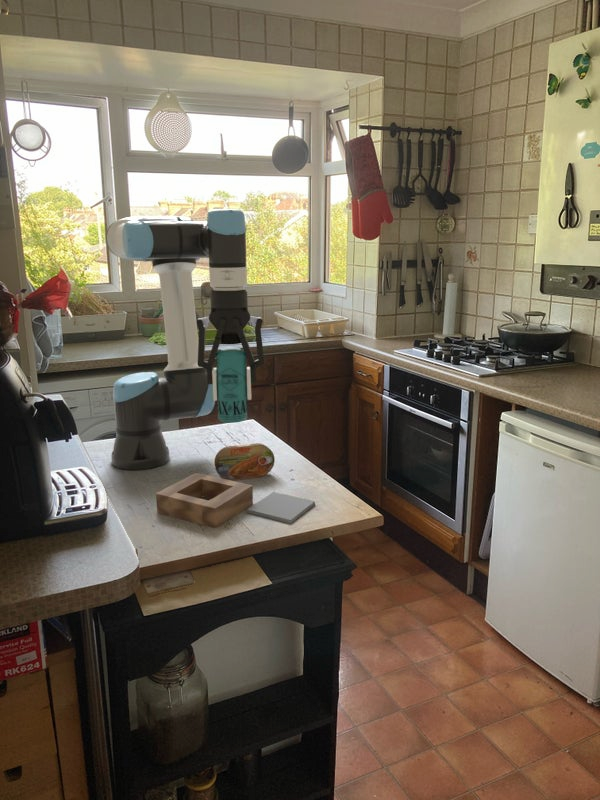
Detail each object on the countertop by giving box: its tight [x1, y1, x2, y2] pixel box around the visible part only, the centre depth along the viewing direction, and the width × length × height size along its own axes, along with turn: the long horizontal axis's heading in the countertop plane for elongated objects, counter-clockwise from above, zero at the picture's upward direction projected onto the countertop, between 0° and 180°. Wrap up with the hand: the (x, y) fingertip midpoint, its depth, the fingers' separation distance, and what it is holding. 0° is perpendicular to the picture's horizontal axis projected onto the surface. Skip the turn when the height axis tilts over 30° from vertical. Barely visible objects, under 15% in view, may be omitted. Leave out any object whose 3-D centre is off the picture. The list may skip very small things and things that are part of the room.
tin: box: [214, 442, 276, 481], centre depth 159 cm, size 15×3×8 cm, turn 105°
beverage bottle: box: [215, 334, 249, 424], centre depth 133 cm, size 6×7×20 cm
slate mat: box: [246, 491, 316, 524], centre depth 141 cm, size 11×11×1 cm
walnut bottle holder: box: [155, 472, 254, 529], centre depth 141 cm, size 16×14×4 cm
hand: (232, 398), depth 134 cm, fingers closed on beverage bottle, 6 cm apart
